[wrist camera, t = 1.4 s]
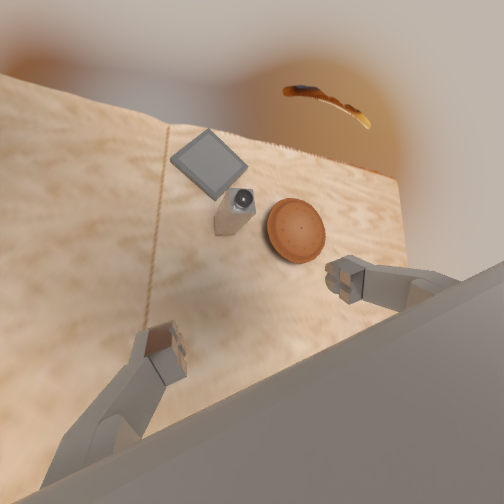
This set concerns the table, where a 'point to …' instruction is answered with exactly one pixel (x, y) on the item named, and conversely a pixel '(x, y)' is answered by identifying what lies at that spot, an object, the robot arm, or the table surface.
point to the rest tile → (209, 164)
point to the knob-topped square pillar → (234, 211)
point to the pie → (296, 230)
